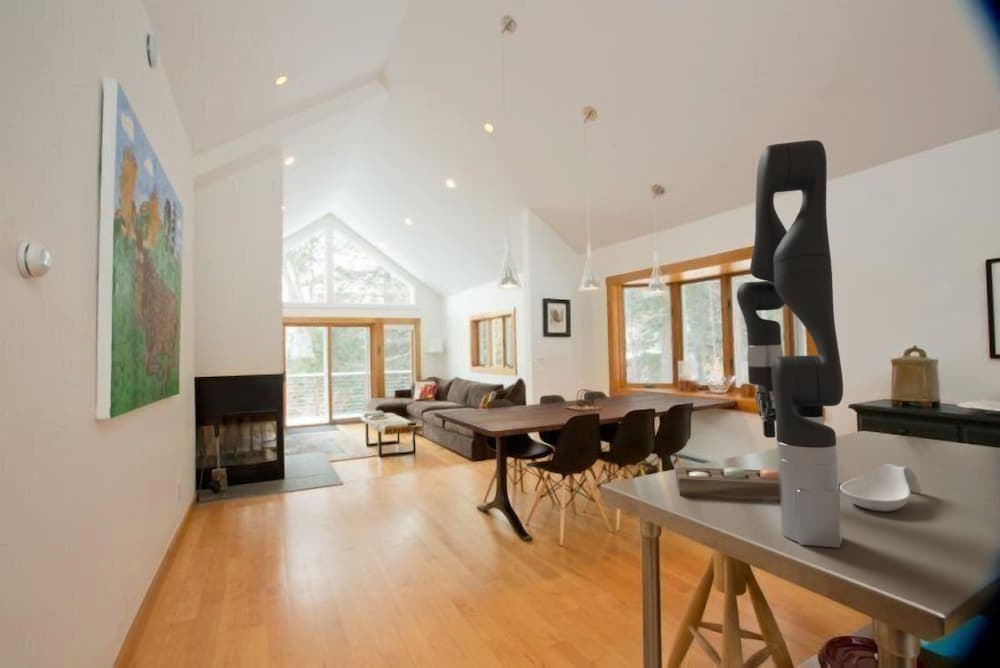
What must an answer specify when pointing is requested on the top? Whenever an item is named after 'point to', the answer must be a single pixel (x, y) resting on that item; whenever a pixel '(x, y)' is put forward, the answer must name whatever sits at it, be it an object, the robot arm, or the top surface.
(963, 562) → the top surface
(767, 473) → the terracotta button
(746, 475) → the button panel
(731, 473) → the sage button
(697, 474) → the cream button
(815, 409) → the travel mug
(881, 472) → the spoon rest
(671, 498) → the top surface
